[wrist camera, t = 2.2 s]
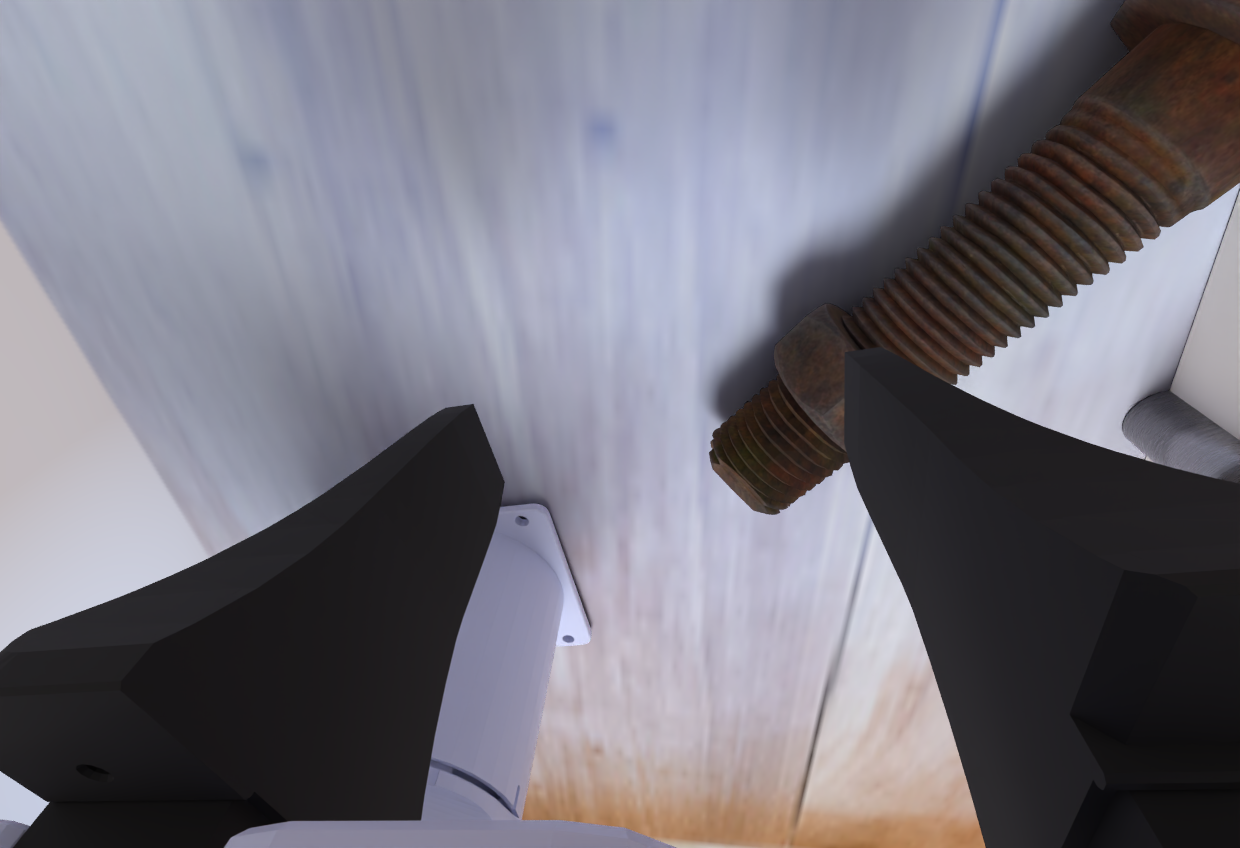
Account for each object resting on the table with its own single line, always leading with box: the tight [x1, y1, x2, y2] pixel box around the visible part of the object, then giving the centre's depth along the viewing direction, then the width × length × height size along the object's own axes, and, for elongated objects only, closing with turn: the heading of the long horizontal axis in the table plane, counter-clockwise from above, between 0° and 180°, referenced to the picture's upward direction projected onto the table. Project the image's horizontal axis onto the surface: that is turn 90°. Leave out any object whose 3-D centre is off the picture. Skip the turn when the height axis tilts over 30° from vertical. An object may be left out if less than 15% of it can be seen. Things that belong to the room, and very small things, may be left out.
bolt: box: [709, 0, 1240, 515], centre depth 14 cm, size 6×5×15 cm
